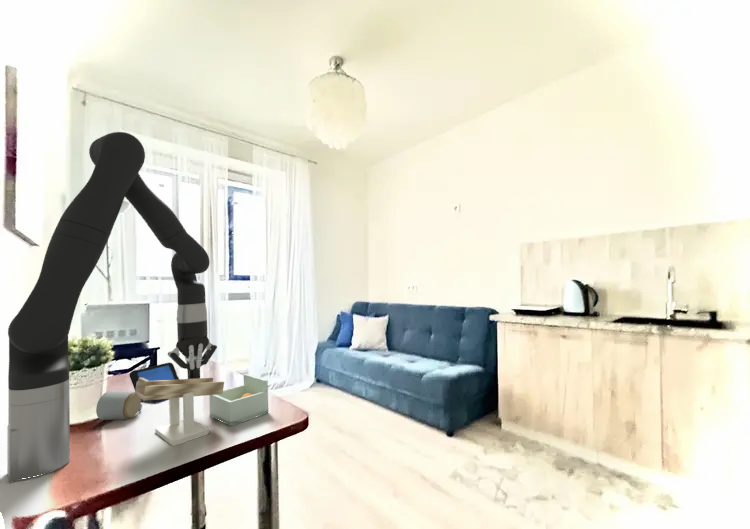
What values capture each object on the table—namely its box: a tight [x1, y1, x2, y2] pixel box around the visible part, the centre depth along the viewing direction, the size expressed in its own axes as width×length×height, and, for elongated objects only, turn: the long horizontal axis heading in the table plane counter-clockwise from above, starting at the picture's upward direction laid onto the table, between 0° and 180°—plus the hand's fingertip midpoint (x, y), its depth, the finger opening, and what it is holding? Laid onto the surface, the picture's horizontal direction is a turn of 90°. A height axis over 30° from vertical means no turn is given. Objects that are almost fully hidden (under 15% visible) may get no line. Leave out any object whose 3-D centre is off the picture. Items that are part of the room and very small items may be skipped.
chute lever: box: [134, 377, 225, 402], centre depth 91 cm, size 18×16×4 cm
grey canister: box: [95, 390, 143, 421], centre depth 101 cm, size 11×8×8 cm
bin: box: [209, 373, 270, 427], centre depth 99 cm, size 11×12×9 cm
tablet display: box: [129, 361, 180, 404], centre depth 121 cm, size 16×13×9 cm
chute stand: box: [154, 392, 209, 447], centre depth 88 cm, size 8×12×10 cm, turn 48°
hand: (194, 381), depth 99 cm, fingers closed
